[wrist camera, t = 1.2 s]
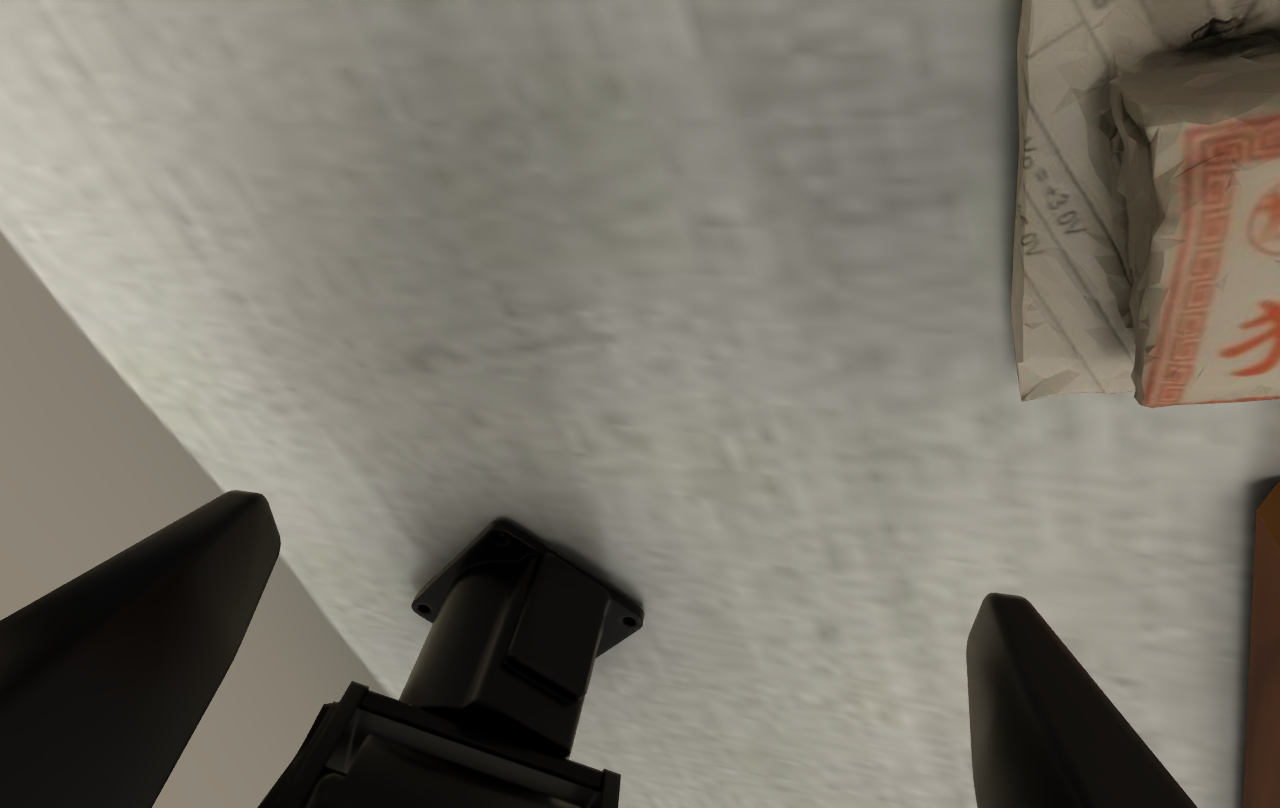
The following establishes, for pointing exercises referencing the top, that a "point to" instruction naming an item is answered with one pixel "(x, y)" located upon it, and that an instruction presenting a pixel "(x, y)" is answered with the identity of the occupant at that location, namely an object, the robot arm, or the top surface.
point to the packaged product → (1148, 200)
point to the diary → (1264, 664)
